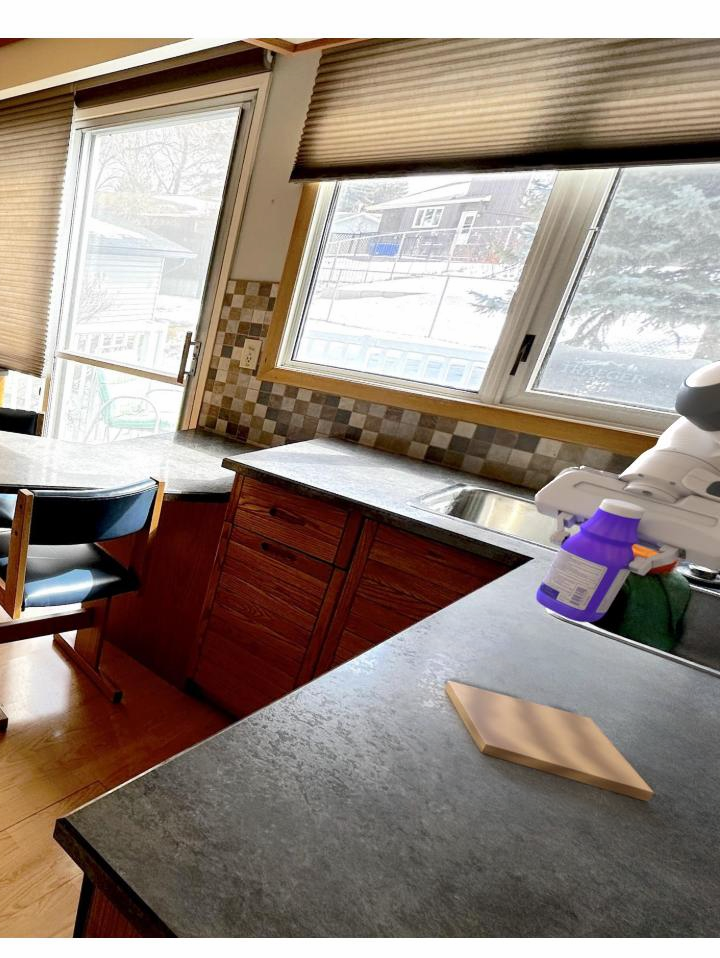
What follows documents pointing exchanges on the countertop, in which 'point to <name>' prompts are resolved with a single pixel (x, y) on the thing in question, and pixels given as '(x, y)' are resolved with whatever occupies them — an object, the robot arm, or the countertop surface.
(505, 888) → the countertop surface
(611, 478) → the robot arm
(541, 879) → the countertop surface
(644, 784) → the board
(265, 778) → the countertop surface
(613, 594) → the bottle
